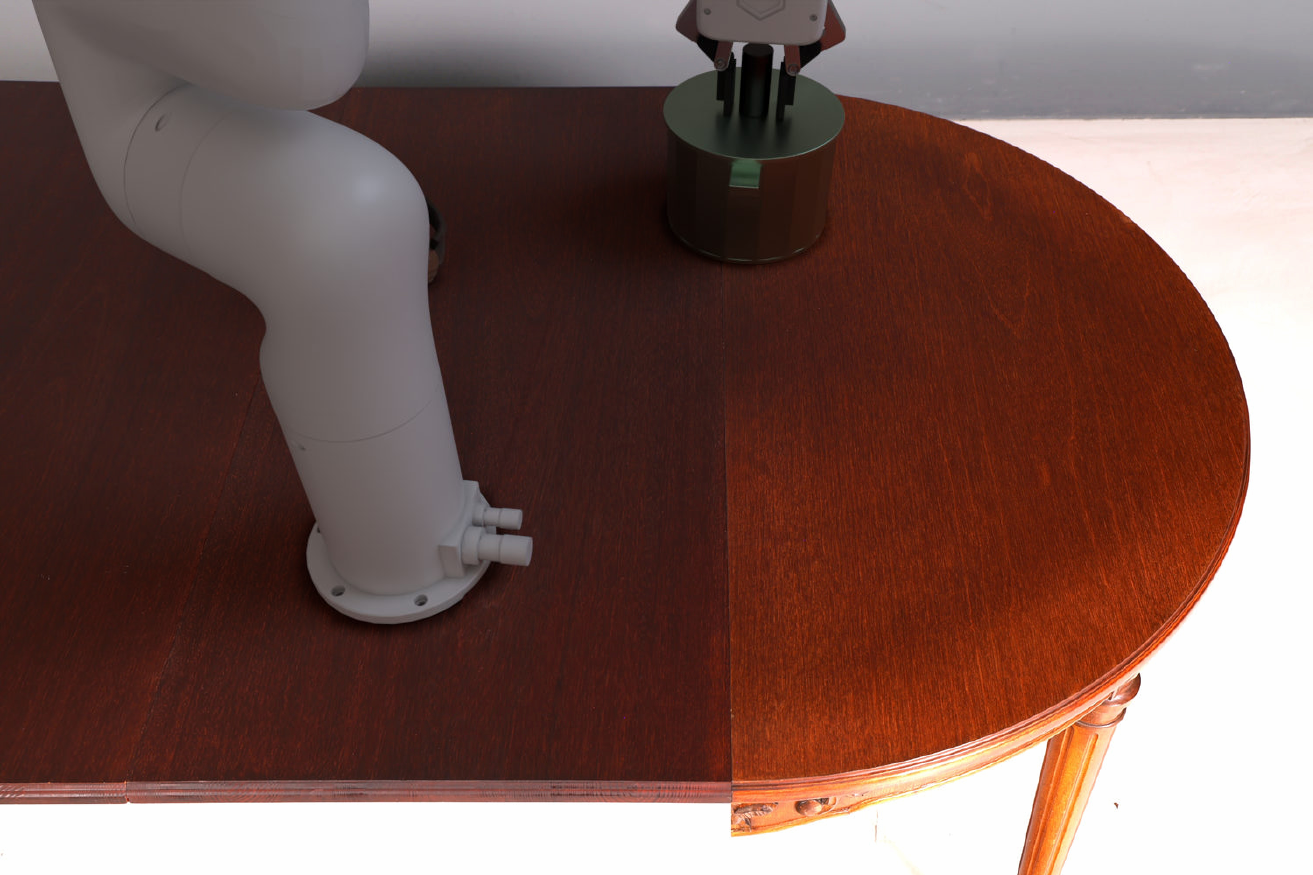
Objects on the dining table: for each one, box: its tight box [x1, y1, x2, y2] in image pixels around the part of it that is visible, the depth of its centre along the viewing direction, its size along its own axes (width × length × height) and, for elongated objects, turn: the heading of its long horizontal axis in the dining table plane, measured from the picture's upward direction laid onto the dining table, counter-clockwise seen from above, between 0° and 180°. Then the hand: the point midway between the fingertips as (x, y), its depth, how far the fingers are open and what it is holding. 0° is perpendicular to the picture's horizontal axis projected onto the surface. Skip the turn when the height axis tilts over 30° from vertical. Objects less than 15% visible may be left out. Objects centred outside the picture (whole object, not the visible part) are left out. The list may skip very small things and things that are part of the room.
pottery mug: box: [424, 195, 448, 285], centre depth 90 cm, size 12×10×8 cm
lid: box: [662, 43, 846, 164], centre depth 88 cm, size 16×16×7 cm
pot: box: [666, 129, 838, 266], centre depth 94 cm, size 15×20×10 cm
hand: (754, 107), depth 90 cm, fingers open, 3 cm apart
